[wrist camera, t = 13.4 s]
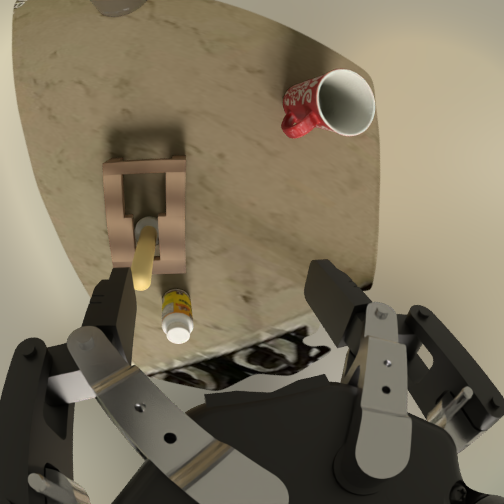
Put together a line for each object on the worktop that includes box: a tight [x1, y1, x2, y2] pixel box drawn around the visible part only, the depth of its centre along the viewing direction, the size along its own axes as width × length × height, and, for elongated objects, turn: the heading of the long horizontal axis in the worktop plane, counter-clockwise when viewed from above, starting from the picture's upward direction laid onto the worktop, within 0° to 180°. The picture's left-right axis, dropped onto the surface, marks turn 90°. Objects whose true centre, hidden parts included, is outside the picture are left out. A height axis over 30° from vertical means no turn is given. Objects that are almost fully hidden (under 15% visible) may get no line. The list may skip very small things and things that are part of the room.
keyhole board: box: [103, 155, 186, 274], centre depth 39 cm, size 18×12×5 cm, turn 174°
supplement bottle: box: [162, 289, 193, 344], centre depth 46 cm, size 6×6×10 cm
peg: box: [131, 217, 159, 291], centre depth 37 cm, size 5×5×15 cm
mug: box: [281, 69, 375, 138], centre depth 34 cm, size 13×9×14 cm
